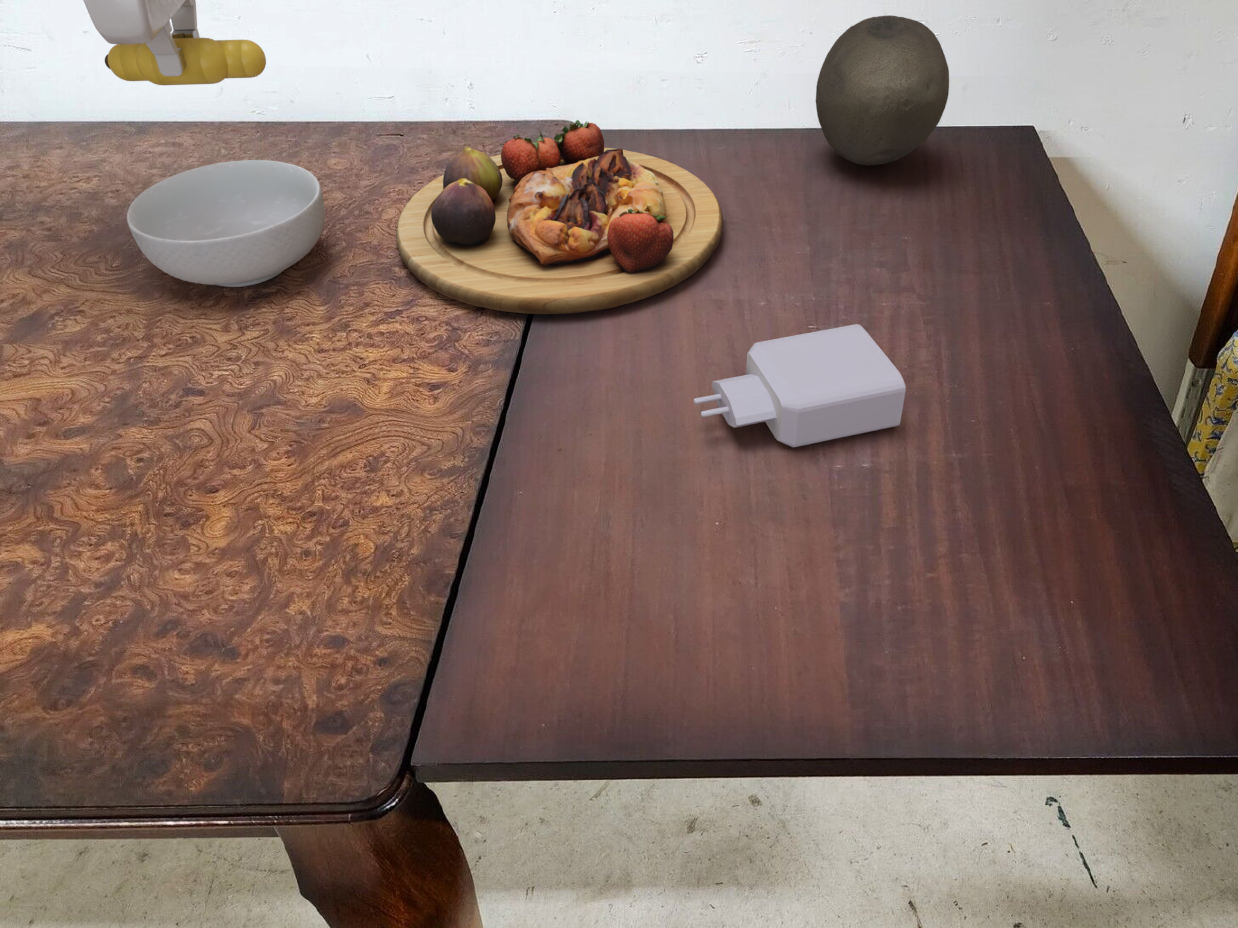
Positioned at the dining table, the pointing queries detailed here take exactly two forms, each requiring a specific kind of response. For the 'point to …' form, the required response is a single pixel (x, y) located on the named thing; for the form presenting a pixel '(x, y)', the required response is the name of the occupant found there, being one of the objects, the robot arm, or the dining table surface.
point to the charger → (813, 387)
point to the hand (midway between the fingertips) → (182, 62)
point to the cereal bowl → (229, 221)
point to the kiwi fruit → (882, 89)
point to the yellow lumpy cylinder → (190, 61)
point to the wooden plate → (558, 226)
